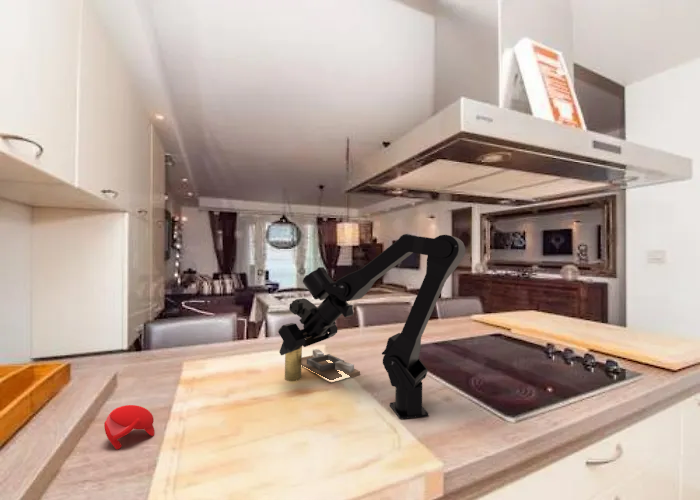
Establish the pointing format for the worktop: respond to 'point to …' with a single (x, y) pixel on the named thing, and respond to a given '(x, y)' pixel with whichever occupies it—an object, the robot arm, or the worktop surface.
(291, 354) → the olive gold cylinder
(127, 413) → the red curved piece
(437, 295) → the robot arm
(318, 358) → the shaft rig
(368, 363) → the worktop surface
